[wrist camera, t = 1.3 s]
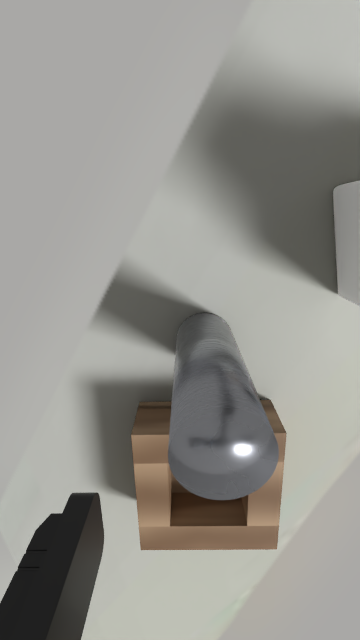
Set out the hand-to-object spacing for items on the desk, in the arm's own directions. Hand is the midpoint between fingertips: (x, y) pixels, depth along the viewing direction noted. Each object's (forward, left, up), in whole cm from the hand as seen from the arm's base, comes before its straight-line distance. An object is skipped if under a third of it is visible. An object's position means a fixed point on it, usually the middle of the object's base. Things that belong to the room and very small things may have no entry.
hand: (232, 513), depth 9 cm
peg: (0, 0, -14) cm, 14 cm away
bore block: (+10, 0, -14) cm, 17 cm away
